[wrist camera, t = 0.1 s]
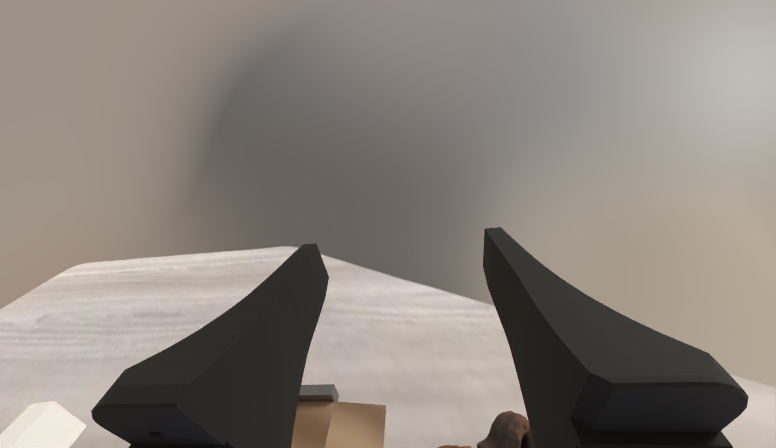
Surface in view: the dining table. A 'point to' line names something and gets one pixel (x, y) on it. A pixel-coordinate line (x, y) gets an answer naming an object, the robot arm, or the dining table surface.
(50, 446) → the white stepped block
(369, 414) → the brown flat board
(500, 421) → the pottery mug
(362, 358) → the dining table surface
